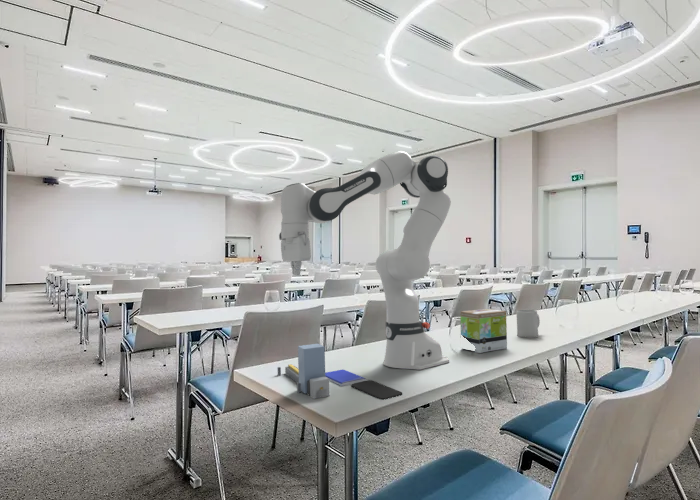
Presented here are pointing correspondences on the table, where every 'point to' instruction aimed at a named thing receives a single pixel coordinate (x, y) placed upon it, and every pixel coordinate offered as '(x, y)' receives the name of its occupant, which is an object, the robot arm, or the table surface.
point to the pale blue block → (310, 363)
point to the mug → (527, 323)
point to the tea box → (484, 329)
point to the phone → (376, 389)
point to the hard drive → (344, 377)
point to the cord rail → (308, 382)
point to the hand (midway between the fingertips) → (296, 275)
